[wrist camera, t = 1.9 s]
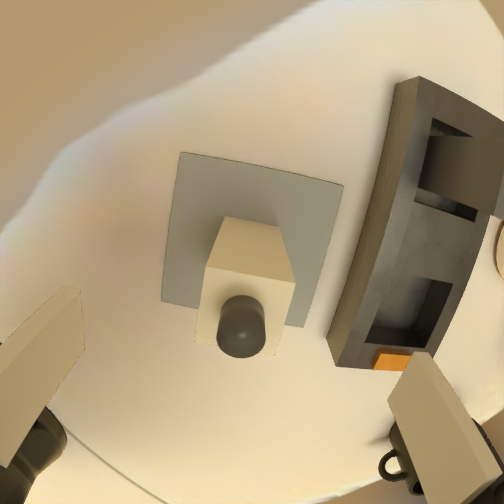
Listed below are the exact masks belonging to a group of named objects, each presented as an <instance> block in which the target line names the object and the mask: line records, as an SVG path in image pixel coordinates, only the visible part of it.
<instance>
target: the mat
mask: <svg viewBox="0 0 504 504" xmlns="http://www.w3.org/2000/svg"><path fill="white" fill-rule="evenodd" d="M343 188H344V186H342V185H339V184H335V183H331V182H327V181H323V180H319V179H315V178H310V177H306V176H302V175H298V174H293V173H289V172H284V171H280V170H275V169H271V168H266V167H261V166H256V165H251V164H246V163H241V162H236V161H231V160H225V159H220V158H214V157H208V156H203V155H197V154H191V153H184V152H181V153H180V159H179V165H178V171H177V177H176V183H175V189H174V196H173V202H172V209H171V216H170V224H169V231H168V239H167V247H166V256H165V265H164V274H163V284H162V295H161V301H162V302H167V303H172V304H176V305H181V306H186V307H190V308H195V309H199V306H200V299H201V293H202V286H203V280H204V274H205V267H206V264H207V261H208V259H209V256H210V254H211V251H212V248H213V246H214V243H215V240H216V238H217V235H218V233H219V230H220V228H221V225H222V222H223V220H224V217H225V216H228V217H233V218H238V219H244V220H249V221H254V222H259V223H263V224H268V225H273V226H278V227H279V228H280V232H281V235H282V238H283V241H284V245H285V248H286V251H287V255H288V258H289V261H290V265H291V268H292V272H293V275H294V278H295V282H296V285H295V289H294V292H293V296H292V299H291V303H290V306H289V310H288V313H287V316H286V320H285V323H284V325H289V326H296V327H302V328H303V327H304V324H305V320H306V317H307V314H308V311H309V308H310V305H311V302H312V299H313V295H314V292H315V289H316V286H317V282H318V279H319V276H320V272H321V269H322V265H323V262H324V259H325V255H326V252H327V248H328V244H329V241H330V237H331V234H332V230H333V226H334V223H335V219H336V215H337V211H338V207H339V204H340V200H341V196H342V192H343Z"/></svg>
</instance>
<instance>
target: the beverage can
mask: <svg viewBox="0 0 504 504" xmlns="http://www.w3.org/2000/svg"><path fill="white" fill-rule="evenodd" d="M496 258H497V267H498V270H499V273H500V275H501V276H502V278H503V279H504V227H503V229H502V231H501V234H500V237H499V240H498V245H497V255H496Z"/></svg>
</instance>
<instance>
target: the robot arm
mask: <svg viewBox="0 0 504 504" xmlns="http://www.w3.org/2000/svg"><path fill="white" fill-rule="evenodd" d="M84 350H85V344H84V334H83V322H82V307H81V291H79V290H75V289H72V288H68V287H65V286H64V287H63V288H62V289H61V290H60V291H58V292H57V293H56V294H55V295H54V296H53V297H52V298H50V299H49V300H48V301H47V302H46V303H45V304H44V305H43V306H42V307H40V308H39V309H38V310H37V311H36V312H35V313H34V314H33V315H32V316H31V317H30V318H28V319H27V320H26V321H25V322H24V323H23V324H22V325H21V326H20V327H19V328H18V329H17V330H16V331H15V332H14V333H13V334H12V335H11V336H10V337H8V338H7V339H6V340H5V341H4V342H3V343H0V504H24V502H25V500H26V497H27V495H28V493H29V491H30V489H31V487H32V484H33V482H34V480H35V479H36V477H37V475H39V474H40V473H41V472H42V471H43V470H45V469H46V468H47V467H48V466H49V465H51V464H52V463H53V462H54V461H55V460H56V459H58V458H59V457H60V456H61V454H62V452H63V451H64V449H65V447H66V444H67V438H66V435H65V432H64V430H63V428H62V427H61V425H60V424H59V422H58V421H57V420H56V418H55V417H54V416H53V415H52V414H51V413H50V411H49V410H48V409H47V408H46V407H45V406H46V404H47V403H48V401H49V400H50V398H51V397H52V395H53V394H54V392H55V391H56V389H57V388H58V386H59V385H60V383H61V382H62V381H63V379H64V378H65V376H66V375H67V373H68V372H69V370H70V369H71V368H72V366H73V365H74V363H75V362H76V361H77V359H78V358H79V356H80V355H81V354H82V352H83V351H84ZM387 401H388V404H389V406H390V408H391V411H392V413H393V415H394V418H395V420H396V423H397V425H398V427H399V430H400V432H401V435H402V437H403V440H404V442H405V445H406V447H407V450H408V452H409V455H410V457H411V460H412V462H413V465H414V467H415V470H416V473H417V475H418V478H419V481H420V483H421V486H422V489H423V492H424V494H425V497H426V500H427V503H428V504H504V464H503V463H502V461H501V459H500V457H499V456H498V454H497V452H496V450H495V449H494V447H493V446H491V444H492V443H491V442H490V440H489V439H488V438H487V435H486V433H485V432H484V430H483V428H482V427H481V426H480V425H479V424H478V423H477V422H476V421H475V420H474V419H473V418H471V417H470V415H469V414H468V412H467V410H466V409H465V407H464V406H463V404H462V403H461V401H460V399H459V398H458V396H457V395H456V393H455V392H454V390H453V389H452V387H451V385H450V384H449V382H448V381H447V379H446V378H445V376H444V375H443V373H442V372H441V370H440V369H439V368H438V366H437V365H436V363H435V362H434V360H433V359H432V357H431V356H430V354H429V353H428V352H415V351H414V353H413V355H412V357H411V358H410V360H409V362H408V364H407V366H406V368H405V370H404V372H403V373H402V375H401V377H400V379H399V381H398V382H397V384H396V386H395V388H394V389H393V391H392V393H391V394H390V396H389V398H388V399H387Z"/></svg>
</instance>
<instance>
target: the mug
mask: <svg viewBox="0 0 504 504" xmlns="http://www.w3.org/2000/svg"><path fill="white" fill-rule="evenodd" d="M390 441H391V444H392V446H393V450H391V451H390V452H388V453H387V454H385V455H384V456H383V457H382V459H381V460H380V463H379V466H378V470H379V474H380V475H381V477H382V478H383V479H385V480H388V481H392V482H395V481H400V480H405V481H406V484H407V487H408V490H409V492H410V493H411V494H412V495H416V496H421V495H425V494H424V492H423V489H422V486H421V483H420V481H419V478H418V475H417V473H416V470H415V467H414V465H413V462H412V460H411V457H410V455H409V452H408V450H407V447H406V445H405V442H404V440H403V437H402V435H401V432H400V430H399V427H398V425H397V423H395V424H394V426H393V427H392V429H391V433H390ZM391 457H397V460H398V462H399V465H400V468H401V470H402V472H401V473H399V474H396V475H394V474H389V473H388V472H387V471H386V470H385V464H386V462H387V461H388V460H389V459H390V458H391Z"/></svg>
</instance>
